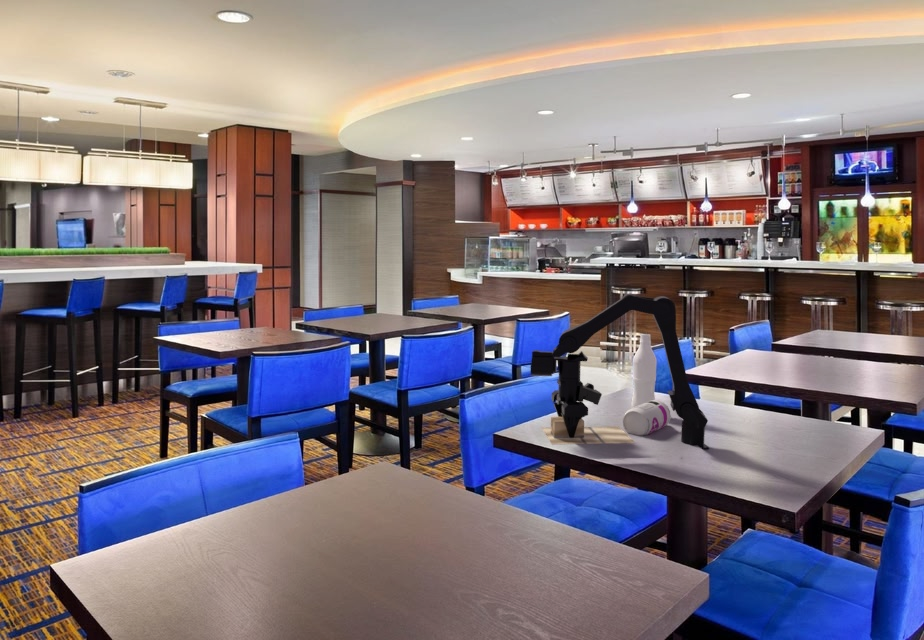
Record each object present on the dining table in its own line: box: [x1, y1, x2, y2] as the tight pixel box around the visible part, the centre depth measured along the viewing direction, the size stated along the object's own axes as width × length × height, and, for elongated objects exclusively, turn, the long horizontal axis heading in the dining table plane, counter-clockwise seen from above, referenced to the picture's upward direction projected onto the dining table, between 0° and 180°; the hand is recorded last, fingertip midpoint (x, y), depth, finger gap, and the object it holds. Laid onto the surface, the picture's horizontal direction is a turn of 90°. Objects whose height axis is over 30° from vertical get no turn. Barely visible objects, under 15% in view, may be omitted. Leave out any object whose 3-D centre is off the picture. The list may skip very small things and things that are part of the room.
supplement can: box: [622, 399, 672, 436], centre depth 189 cm, size 8×8×15 cm
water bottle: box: [631, 333, 658, 408], centre depth 208 cm, size 7×7×25 cm
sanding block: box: [550, 416, 585, 438], centre depth 182 cm, size 5×8×4 cm, turn 93°
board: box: [541, 426, 637, 445], centre depth 183 cm, size 16×22×1 cm
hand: (568, 433), depth 182 cm, fingers open, 8 cm apart
